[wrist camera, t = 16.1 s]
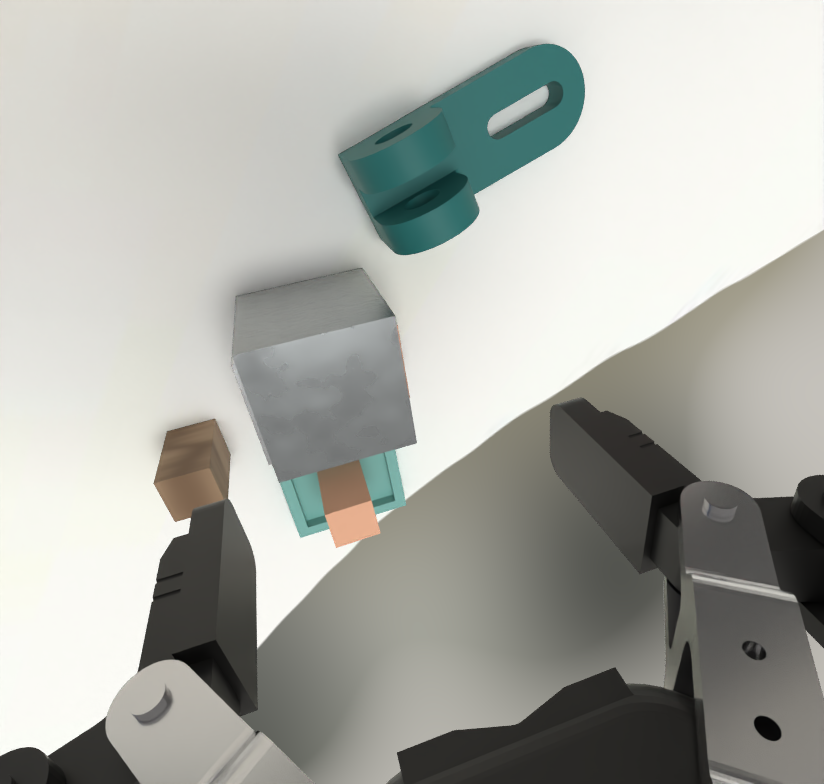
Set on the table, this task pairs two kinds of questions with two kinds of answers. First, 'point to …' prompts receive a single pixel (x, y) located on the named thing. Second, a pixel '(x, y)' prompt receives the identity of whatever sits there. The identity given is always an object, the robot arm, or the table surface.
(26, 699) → the table surface
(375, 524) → the terracotta block
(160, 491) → the walnut block
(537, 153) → the bracket
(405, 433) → the grey unit
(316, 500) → the teal tray
